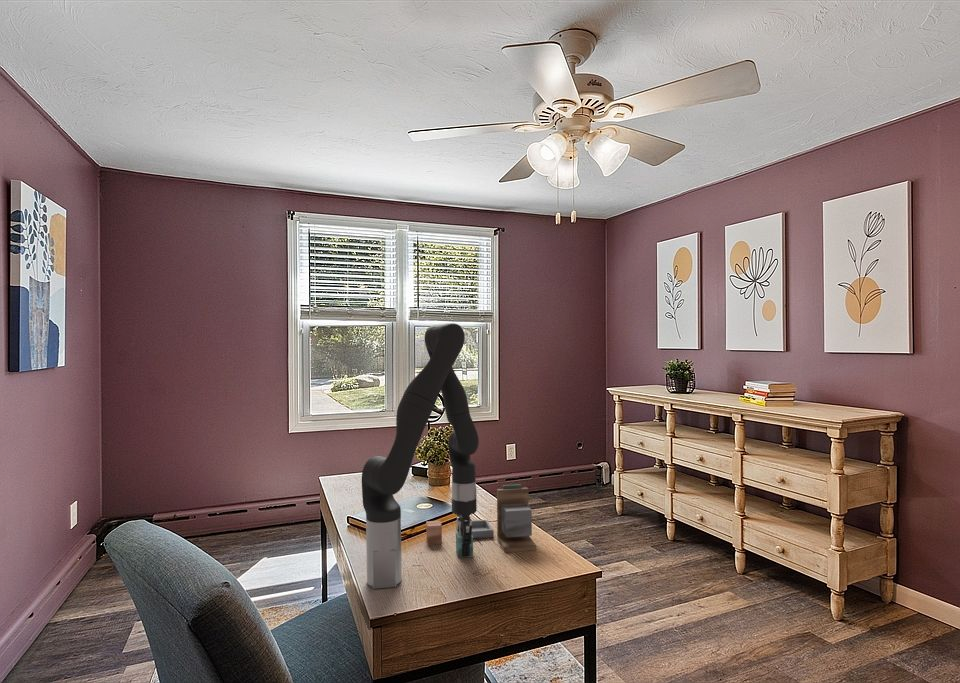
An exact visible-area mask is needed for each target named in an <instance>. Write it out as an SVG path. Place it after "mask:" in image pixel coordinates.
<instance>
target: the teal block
mask: <svg viewBox="0 0 960 683" xmlns="http://www.w3.org/2000/svg"><path fill="white" fill-rule="evenodd" d="M462 533H463V532H462ZM465 540H468V538H465ZM461 541H462V537H461V536H460V533H459V532H458V531H456V532H455V553H456V555H457V559H460V558H462V559H463V558H464V557H463V556H462V543H461ZM471 541H472V542H471V544H470V555H469V556H466V557H465V558H473V557H474V539H473V536H472V538H471Z"/></svg>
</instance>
